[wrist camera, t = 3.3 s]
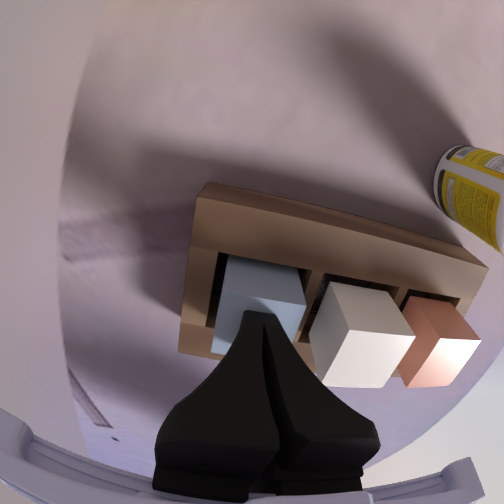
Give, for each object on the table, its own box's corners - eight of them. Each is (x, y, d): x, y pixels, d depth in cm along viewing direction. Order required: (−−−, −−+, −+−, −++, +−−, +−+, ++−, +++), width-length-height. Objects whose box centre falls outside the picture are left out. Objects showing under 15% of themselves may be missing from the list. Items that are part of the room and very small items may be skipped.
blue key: (278, 316, 17) (283, 363, 13) (218, 305, 16) (210, 352, 13) (295, 263, 15) (306, 305, 12) (229, 250, 15) (222, 290, 12)
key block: (410, 350, 20) (424, 376, 18) (186, 320, 19) (177, 352, 16) (464, 248, 16) (489, 268, 14) (207, 182, 15) (197, 197, 12)
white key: (362, 340, 16) (381, 388, 13) (308, 334, 16) (319, 385, 12) (387, 291, 15) (415, 336, 11) (329, 281, 14) (349, 329, 11)
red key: (425, 345, 16) (448, 385, 13) (384, 342, 16) (406, 387, 13) (450, 302, 15) (481, 340, 12) (410, 295, 15) (440, 338, 11)
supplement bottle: (462, 230, 16) (546, 298, 8) (418, 194, 15) (516, 258, 7) (494, 171, 14) (587, 215, 7) (453, 127, 13) (563, 154, 6)
